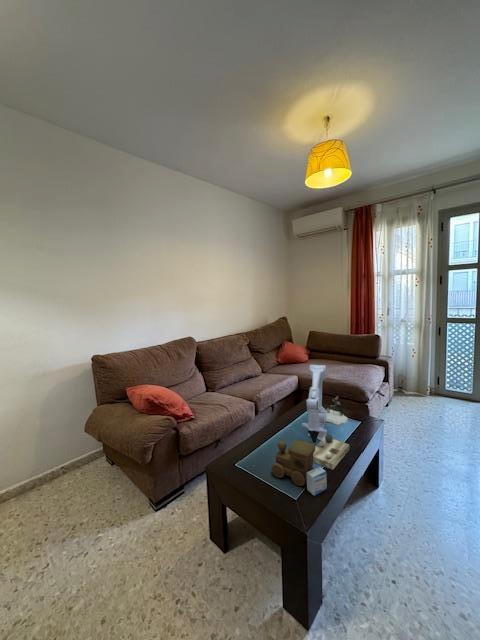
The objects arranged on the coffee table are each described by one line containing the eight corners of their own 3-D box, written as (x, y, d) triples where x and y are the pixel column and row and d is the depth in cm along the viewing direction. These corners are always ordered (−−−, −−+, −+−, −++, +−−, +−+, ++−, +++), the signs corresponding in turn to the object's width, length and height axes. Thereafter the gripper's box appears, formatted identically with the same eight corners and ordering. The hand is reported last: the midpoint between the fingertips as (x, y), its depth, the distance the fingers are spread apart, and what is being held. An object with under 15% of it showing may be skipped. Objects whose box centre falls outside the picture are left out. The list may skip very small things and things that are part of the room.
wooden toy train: (317, 476, 123) (316, 443, 122) (308, 491, 114) (307, 456, 113) (279, 463, 135) (278, 432, 134) (269, 475, 126) (267, 443, 124)
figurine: (313, 417, 182) (314, 395, 180) (326, 409, 195) (327, 388, 192) (340, 429, 168) (342, 405, 166) (352, 419, 180) (354, 397, 178)
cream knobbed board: (307, 459, 137) (307, 453, 136) (325, 441, 153) (325, 436, 152) (332, 470, 127) (332, 464, 127) (349, 449, 143) (349, 444, 143)
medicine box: (313, 496, 111) (313, 477, 110) (306, 490, 115) (306, 471, 114) (327, 489, 115) (326, 471, 114) (319, 483, 119) (319, 465, 118)
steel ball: (316, 446, 143) (316, 441, 142) (319, 443, 145) (319, 438, 145) (322, 448, 140) (322, 443, 140) (324, 445, 143) (324, 440, 143)
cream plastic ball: (324, 457, 132) (324, 452, 132) (326, 454, 135) (326, 449, 134) (330, 459, 130) (329, 454, 130) (332, 457, 133) (332, 451, 132)
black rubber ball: (324, 442, 147) (323, 435, 146) (327, 439, 150) (326, 432, 149) (330, 444, 144) (330, 437, 144) (333, 441, 147) (333, 434, 146)
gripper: (298, 418, 146) (299, 441, 147) (322, 425, 136) (323, 450, 137) (304, 413, 151) (305, 435, 153) (328, 420, 141) (329, 444, 143)
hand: (314, 442), depth 145 cm, fingers closed
